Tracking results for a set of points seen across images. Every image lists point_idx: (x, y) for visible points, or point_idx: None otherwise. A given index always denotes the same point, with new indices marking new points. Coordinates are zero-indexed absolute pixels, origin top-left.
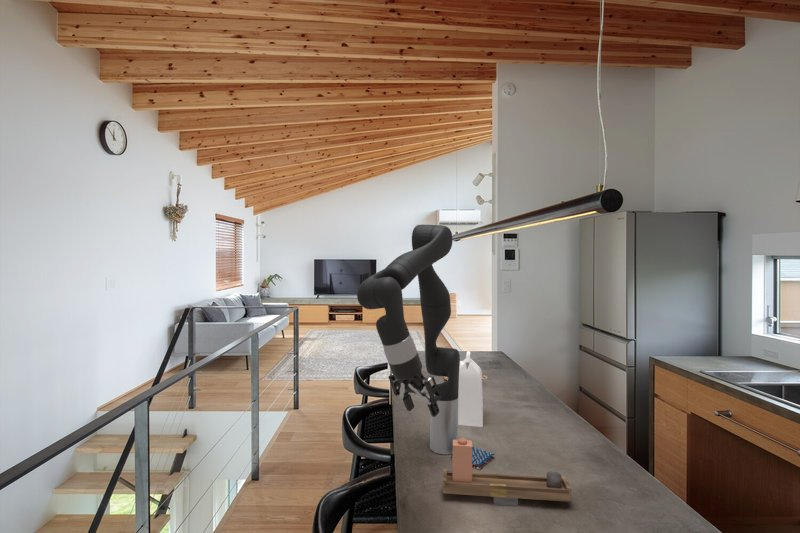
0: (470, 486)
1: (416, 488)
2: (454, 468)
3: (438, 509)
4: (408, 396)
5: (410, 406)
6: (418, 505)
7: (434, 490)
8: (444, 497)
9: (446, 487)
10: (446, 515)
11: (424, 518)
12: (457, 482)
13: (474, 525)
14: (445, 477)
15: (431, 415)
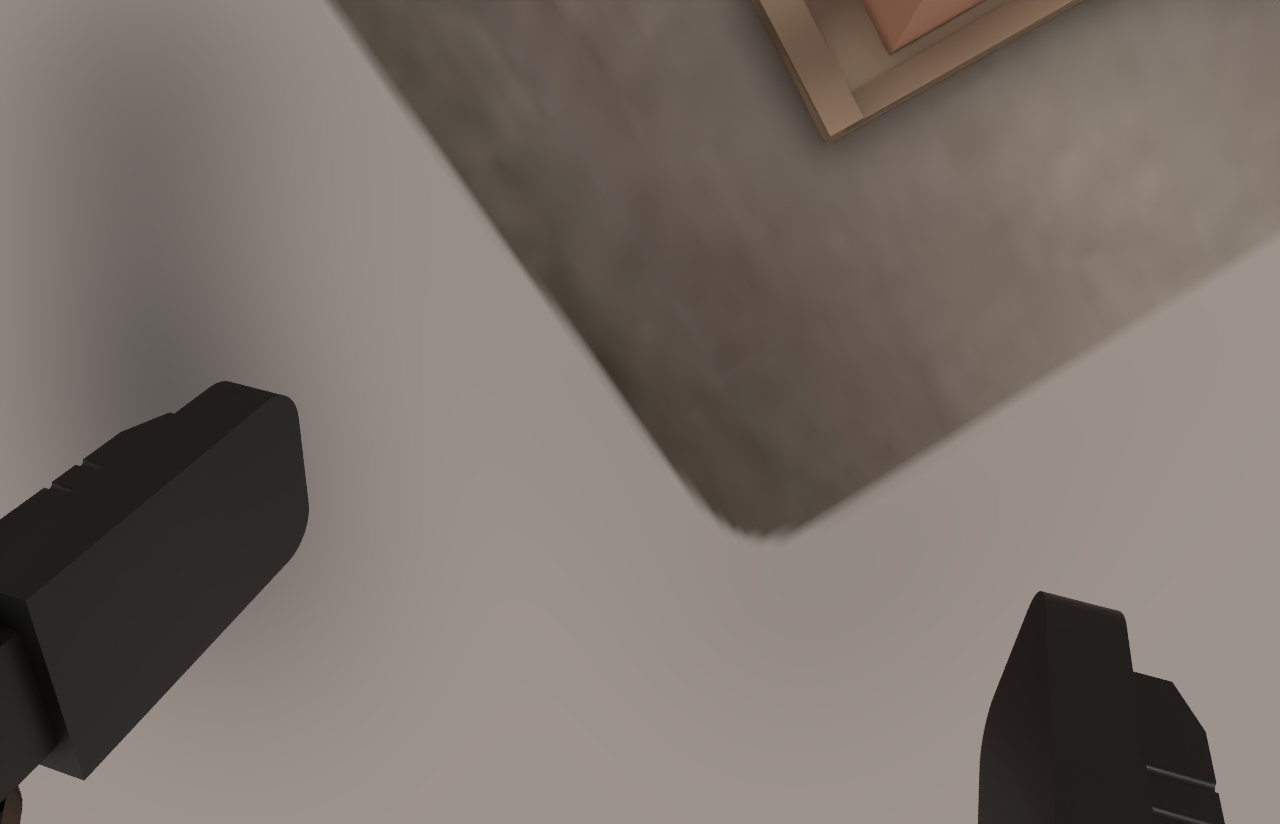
0: (1065, 6)
1: (560, 124)
2: (921, 18)
3: (849, 269)
4: (55, 658)
5: (254, 522)
6: (698, 313)
7: (693, 58)
8: None
9: (856, 125)
10: (935, 300)
11: (816, 421)
12: (946, 52)
13: (1171, 286)
14: (825, 74)
15: (981, 768)
